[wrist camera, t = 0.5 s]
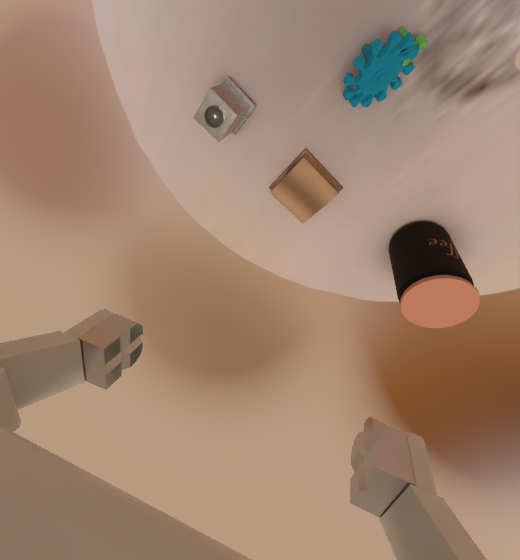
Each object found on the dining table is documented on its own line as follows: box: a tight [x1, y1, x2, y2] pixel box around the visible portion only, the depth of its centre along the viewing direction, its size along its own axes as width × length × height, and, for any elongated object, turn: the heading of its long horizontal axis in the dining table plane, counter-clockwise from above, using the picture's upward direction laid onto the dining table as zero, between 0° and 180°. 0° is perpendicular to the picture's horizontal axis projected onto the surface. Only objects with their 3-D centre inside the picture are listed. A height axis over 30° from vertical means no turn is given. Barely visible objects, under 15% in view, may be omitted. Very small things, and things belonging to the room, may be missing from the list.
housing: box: [193, 76, 256, 142], centre depth 45 cm, size 6×6×10 cm
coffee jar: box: [389, 222, 480, 328], centre depth 50 cm, size 11×11×18 cm
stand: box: [269, 149, 343, 223], centre depth 54 cm, size 10×10×3 cm
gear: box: [343, 26, 428, 107], centre depth 39 cm, size 11×6×10 cm
